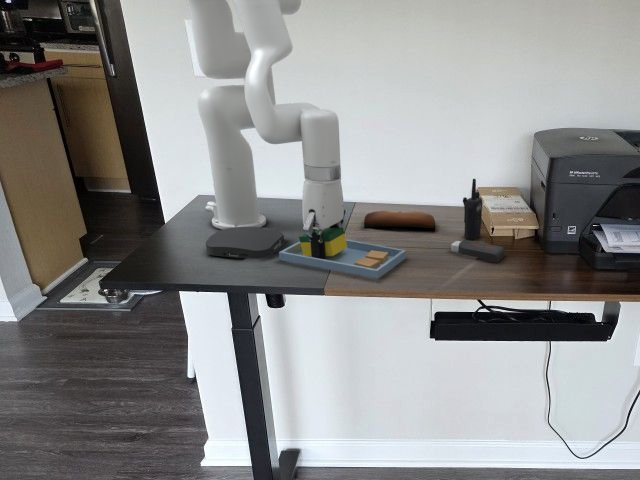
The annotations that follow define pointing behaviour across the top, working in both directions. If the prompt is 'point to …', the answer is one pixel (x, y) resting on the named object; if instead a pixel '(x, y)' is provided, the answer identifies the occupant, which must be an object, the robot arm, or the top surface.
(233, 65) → the robot arm
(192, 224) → the top surface
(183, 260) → the top surface
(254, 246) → the media streaming box
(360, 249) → the tray
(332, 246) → the sponge
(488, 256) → the usb drive
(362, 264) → the crumb
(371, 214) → the sunglasses case
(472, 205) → the two-way radio
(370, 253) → the crumb
